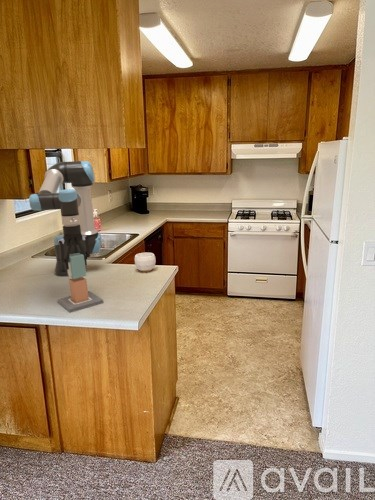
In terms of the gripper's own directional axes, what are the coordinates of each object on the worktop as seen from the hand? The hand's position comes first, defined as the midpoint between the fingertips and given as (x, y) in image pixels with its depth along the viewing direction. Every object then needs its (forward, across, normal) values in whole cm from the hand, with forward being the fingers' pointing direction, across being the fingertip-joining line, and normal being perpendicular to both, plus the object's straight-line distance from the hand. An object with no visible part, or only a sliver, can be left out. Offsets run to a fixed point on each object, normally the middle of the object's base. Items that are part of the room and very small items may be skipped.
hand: (77, 274), depth 164 cm
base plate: (+14, 0, 0) cm, 14 cm away
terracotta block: (+13, 0, 0) cm, 13 cm away
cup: (+14, +49, +21) cm, 55 cm away
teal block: (+1, 0, 0) cm, 1 cm away
